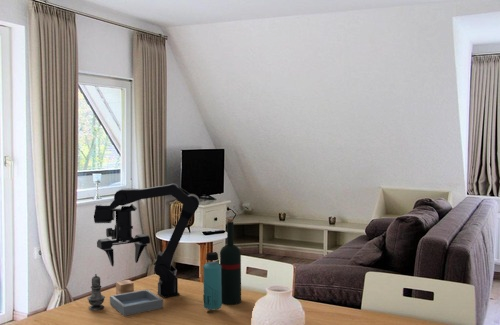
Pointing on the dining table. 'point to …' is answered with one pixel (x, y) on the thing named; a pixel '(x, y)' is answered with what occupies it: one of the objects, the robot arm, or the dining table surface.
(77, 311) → the dining table surface
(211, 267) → the beverage bottle
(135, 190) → the robot arm
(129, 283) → the light brown block
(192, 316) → the dining table surface
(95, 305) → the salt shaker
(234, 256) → the wine bottle
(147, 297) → the low wall corral
